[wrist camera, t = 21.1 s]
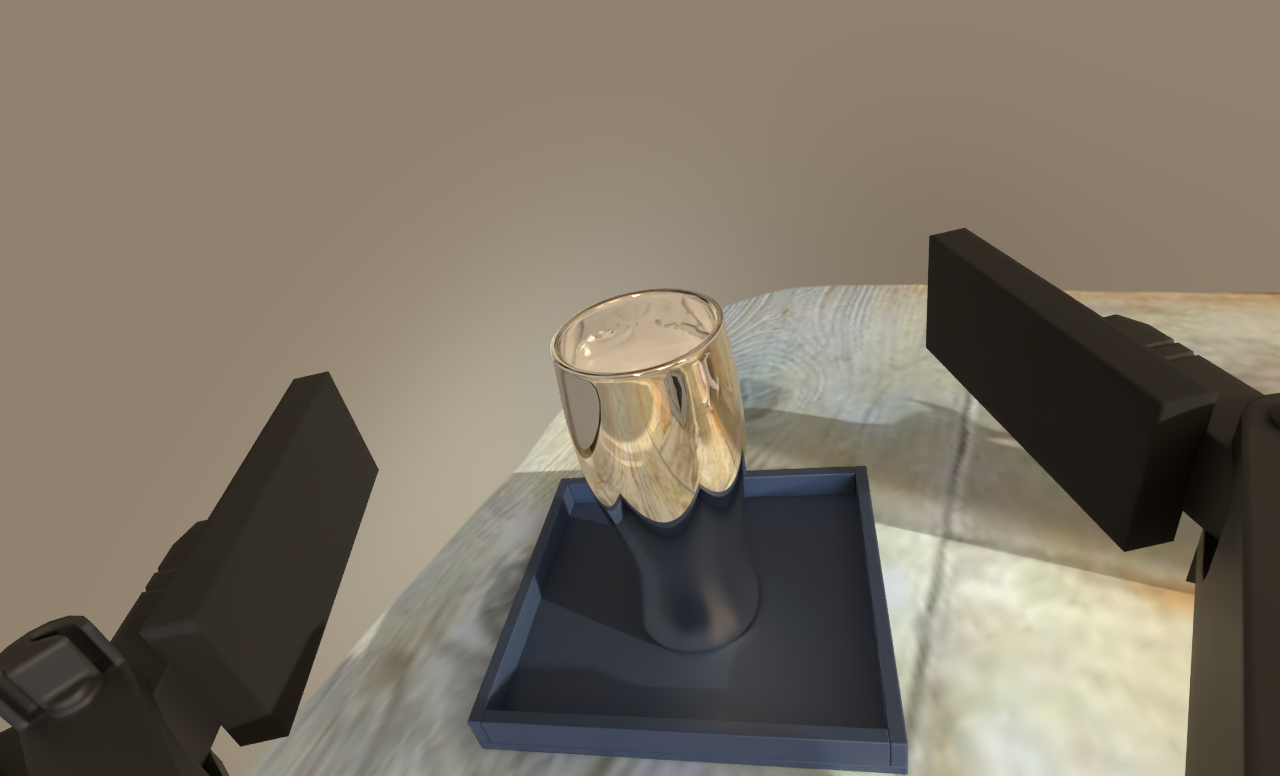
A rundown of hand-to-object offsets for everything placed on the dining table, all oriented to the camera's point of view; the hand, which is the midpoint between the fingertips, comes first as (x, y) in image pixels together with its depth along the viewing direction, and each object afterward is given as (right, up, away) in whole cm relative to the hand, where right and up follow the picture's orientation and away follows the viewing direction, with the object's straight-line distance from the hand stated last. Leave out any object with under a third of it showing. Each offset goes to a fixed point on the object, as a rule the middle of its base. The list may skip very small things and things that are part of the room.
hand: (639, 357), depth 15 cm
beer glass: (+3, -11, +18) cm, 22 cm away
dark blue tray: (+3, -11, +19) cm, 22 cm away
